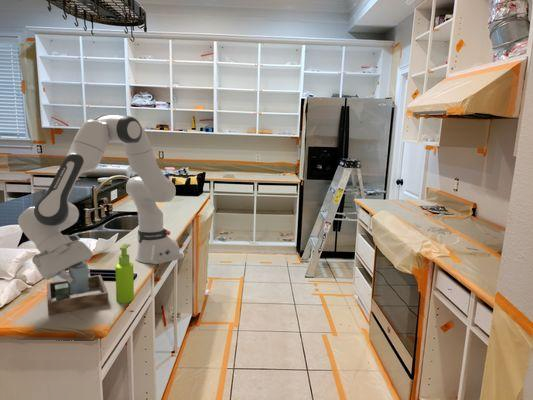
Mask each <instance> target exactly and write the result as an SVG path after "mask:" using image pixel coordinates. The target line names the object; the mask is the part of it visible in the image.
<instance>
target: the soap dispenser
mask: <svg viewBox="0 0 533 400" xmlns="http://www.w3.org/2000/svg"><path fill="white" fill-rule="evenodd" d="M130 246H131V244H126V243H125V244H122V245H121V246H120V247H119V250H121V254H120V255H118V263H117V264H115V287H116V288H115V295H116V302H117V303H119V304H128V303H131V302H133V301H134V299H135V291H134V290H135V287H134V285H135V284H134V283H135V280H134V263H132V262H130V254H128V248H129V247H130Z"/></svg>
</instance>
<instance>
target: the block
mask: <svg viewBox="0 0 533 400" xmlns="http://www.w3.org/2000/svg"><path fill="white" fill-rule="evenodd" d="M69 292H70V291H69V289H68V283H66V284H59V285H55V293H54V294H55V301H58V300H63V299H69V298H70V293H69Z"/></svg>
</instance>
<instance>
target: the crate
mask: <svg viewBox="0 0 533 400" xmlns="http://www.w3.org/2000/svg"><path fill="white" fill-rule="evenodd" d="M88 278H89V288H93V287H98V289H99V290H100V292H99V293H93V294H88V295H87V294H86V295H82V296H75V297H69V298H63V299H58V300H53V301H52V294H56V293H55V285H59V284H66V283H68V289H69V292H70V283H69V282H68V281H67V280H63V281H56V282H53V281H51V282H46V297H47V301H46V302H47V314H48V316H51V315H56V314H61V313H66V312H71V311H77V310H81V309H87V308H91V307H98V306H102V305H108V304H109V292H108V290H107V287H106V285H105V282H104V280H103V277H102V275H101V274H98V275H97V274H95V275H92V276H91V275H90V277H88Z"/></svg>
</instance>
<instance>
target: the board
mask: <svg viewBox="0 0 533 400" xmlns="http://www.w3.org/2000/svg"><path fill="white" fill-rule="evenodd" d="M66 274H68V275H69V272H66ZM90 276H91V273H90V272H89V273H88V277H90ZM63 280H65V279H63V278H60V277H59V275H57V276H55V277H53V278H52V282H56V281H63Z"/></svg>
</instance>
